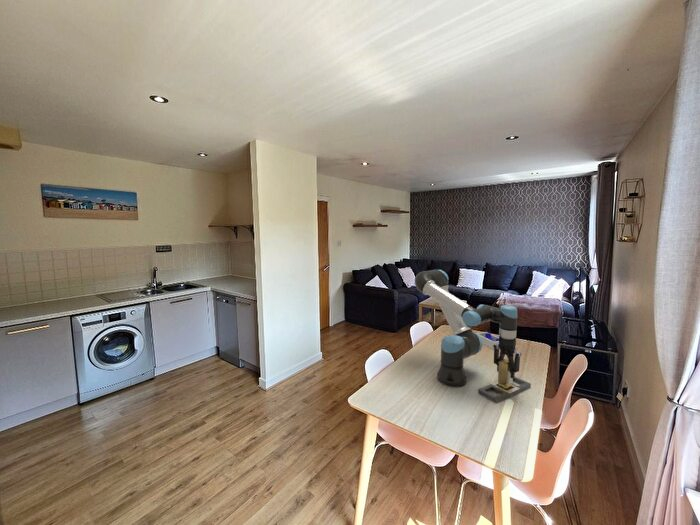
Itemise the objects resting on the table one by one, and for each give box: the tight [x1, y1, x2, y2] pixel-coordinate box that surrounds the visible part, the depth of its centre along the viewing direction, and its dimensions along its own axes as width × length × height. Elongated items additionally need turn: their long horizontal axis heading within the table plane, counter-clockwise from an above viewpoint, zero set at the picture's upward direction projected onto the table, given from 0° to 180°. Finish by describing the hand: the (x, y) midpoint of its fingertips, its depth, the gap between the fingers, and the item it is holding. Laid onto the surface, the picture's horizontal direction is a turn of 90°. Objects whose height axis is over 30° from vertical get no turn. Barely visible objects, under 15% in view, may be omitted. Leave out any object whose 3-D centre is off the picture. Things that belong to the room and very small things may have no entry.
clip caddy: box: [475, 331, 500, 350], centre depth 208 cm, size 10×18×5 cm, turn 19°
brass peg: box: [497, 358, 513, 391], centre depth 148 cm, size 5×5×15 cm
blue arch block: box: [485, 332, 499, 342], centre depth 207 cm, size 12×4×6 cm, turn 15°
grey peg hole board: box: [477, 376, 532, 404], centre depth 148 cm, size 28×10×2 cm, turn 119°
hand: (505, 380), depth 148 cm, fingers closed on brass peg, 5 cm apart
